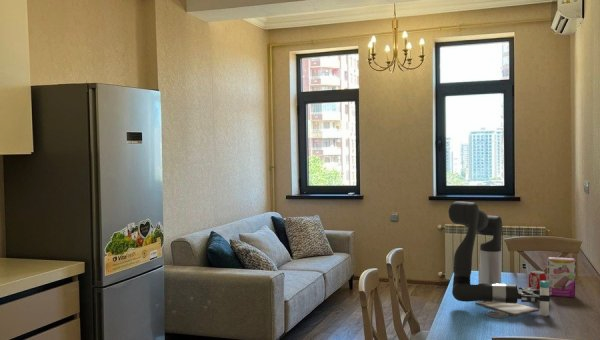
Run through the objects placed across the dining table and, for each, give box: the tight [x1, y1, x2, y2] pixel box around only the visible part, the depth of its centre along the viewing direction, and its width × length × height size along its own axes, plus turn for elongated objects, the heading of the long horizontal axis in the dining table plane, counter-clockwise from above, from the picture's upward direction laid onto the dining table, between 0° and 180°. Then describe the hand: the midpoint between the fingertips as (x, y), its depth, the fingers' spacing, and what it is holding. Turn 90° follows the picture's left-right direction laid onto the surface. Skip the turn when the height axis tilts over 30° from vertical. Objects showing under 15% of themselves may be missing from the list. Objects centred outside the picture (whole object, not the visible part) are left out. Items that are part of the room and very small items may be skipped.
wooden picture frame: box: [475, 301, 540, 317], centre depth 244 cm, size 20×14×1 cm
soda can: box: [528, 269, 547, 299], centre depth 254 cm, size 7×7×12 cm
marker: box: [539, 281, 550, 317], centre depth 232 cm, size 3×3×13 cm
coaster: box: [485, 310, 509, 319], centre depth 233 cm, size 8×8×1 cm
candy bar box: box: [546, 256, 577, 298], centre depth 260 cm, size 11×5×16 cm, turn 71°
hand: (548, 295), depth 232 cm, fingers open, 8 cm apart
